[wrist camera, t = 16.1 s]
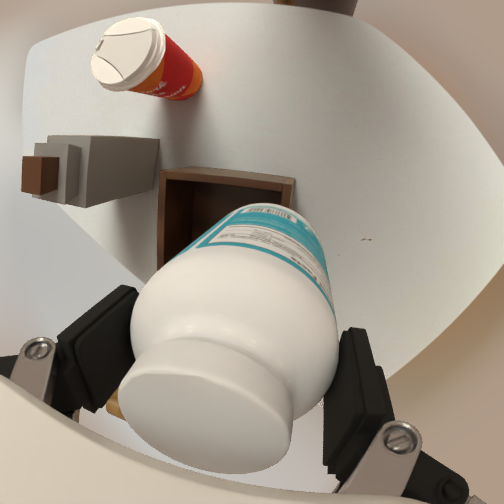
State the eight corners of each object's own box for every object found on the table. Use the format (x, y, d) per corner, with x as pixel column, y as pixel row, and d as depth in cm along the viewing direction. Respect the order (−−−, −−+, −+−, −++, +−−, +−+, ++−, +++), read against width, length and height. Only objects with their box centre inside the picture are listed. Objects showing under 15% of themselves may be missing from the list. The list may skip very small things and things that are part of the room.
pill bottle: (239, 319, 21) (167, 485, 8) (193, 226, 19) (36, 340, 6) (339, 288, 18) (367, 479, 6) (299, 182, 17) (278, 258, 4)
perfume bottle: (152, 189, 36) (52, 219, 19) (113, 182, 37) (13, 207, 20) (159, 139, 34) (56, 136, 17) (118, 136, 34) (15, 137, 18)
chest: (192, 166, 34) (159, 170, 26) (295, 178, 32) (292, 184, 24) (186, 281, 39) (158, 311, 31) (277, 298, 38) (268, 336, 29)
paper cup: (146, 98, 32) (75, 79, 19) (172, 48, 29) (112, 9, 16) (194, 117, 32) (131, 99, 19) (222, 65, 29) (176, 19, 16)
